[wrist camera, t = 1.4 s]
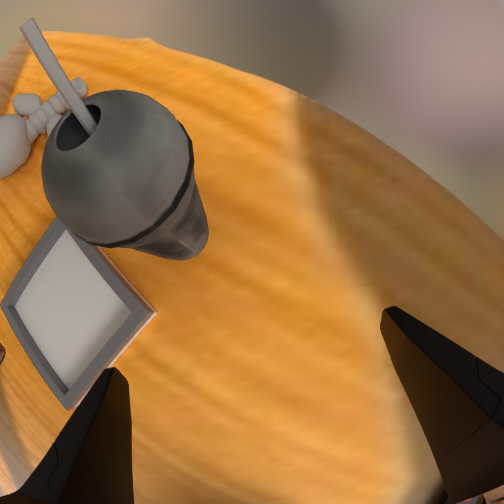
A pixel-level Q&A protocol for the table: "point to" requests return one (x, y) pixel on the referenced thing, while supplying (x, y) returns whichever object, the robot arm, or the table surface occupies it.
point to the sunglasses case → (2, 353)
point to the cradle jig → (73, 312)
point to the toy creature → (30, 125)
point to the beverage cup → (120, 168)
